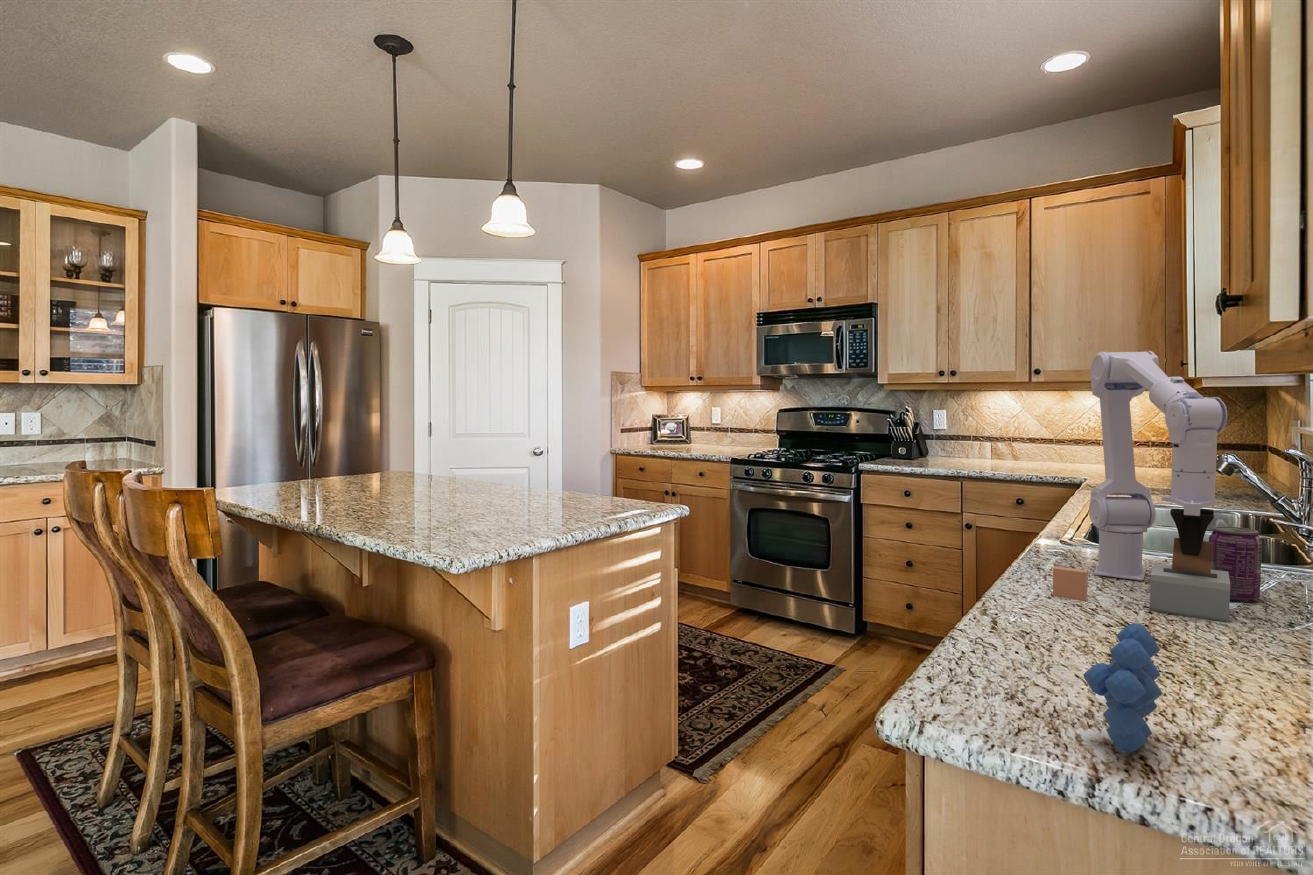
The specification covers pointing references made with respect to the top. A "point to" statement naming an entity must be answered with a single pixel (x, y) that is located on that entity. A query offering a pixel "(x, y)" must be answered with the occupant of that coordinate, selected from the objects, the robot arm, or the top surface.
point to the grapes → (1128, 687)
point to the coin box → (1190, 593)
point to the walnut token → (1193, 558)
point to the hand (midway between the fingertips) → (1190, 553)
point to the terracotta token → (1070, 583)
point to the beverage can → (1238, 560)
